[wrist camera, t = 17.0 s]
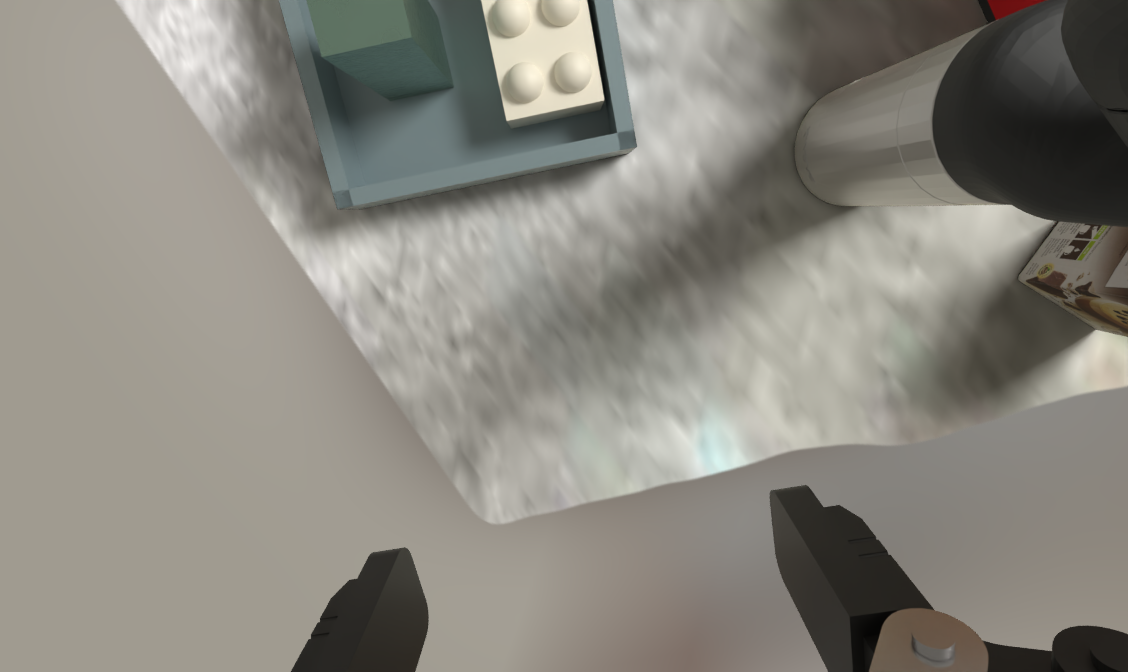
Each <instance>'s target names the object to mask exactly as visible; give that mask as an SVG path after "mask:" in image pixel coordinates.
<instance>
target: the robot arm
mask: <svg viewBox="0 0 1128 672" xmlns="http://www.w3.org/2000/svg"><path fill="white" fill-rule="evenodd" d="M795 162H796V167H797V171H798V173H799V175H800V178H801V180H802V182H803V183H804V184H805V186H806V187H807V188H808V190H809V191H810V192H811V193H813V194H814V195H815V196H816V197H818V198H819V199H821V200H823V201H825V202H827V203H830V204H834V205H838V206H946V205H1013V206H1015V207H1016V208H1018V209H1020V210H1022V211H1024V212H1026V213H1029V214H1031V215H1034V216H1036V217H1040V218H1043V219H1047V220H1053V221H1060V222H1070V223H1082V224H1094V225H1106V226H1117V227H1128V0H1047V1H1043V2H1040V3H1037V4H1035V5H1032V6H1029V7H1026V8H1024V9H1021V10H1019V11H1017V12H1015V13H1012V14H1010V15H1008V16H1005V17H1003V18H1001V19H998V20H996V21H994V22H991V23H989V24H987V25H984V26H982V27H980V28H977V29H975V30H973V31H970V32H968V33H966V34H963V35H961V36H959V37H957V38H955V39H953V40H950V41H948V42H946V43H943V44H941V45H939V46H936V47H934V48H932V49H929V50H927V51H925V52H922V53H920V54H918V55H915V56H913V57H911V58H908V59H906V60H904V61H901V62H899V63H897V64H894V65H892V66H890V67H887V68H885V69H883V70H880V71H878V72H876V73H874V74H871V75H869V76H867V77H864V78H861V79H859V80H857V81H855V82H852V83H850V84H848V85H846V86H843V87H841V88H839V89H836V90H834V91H832V92H830V93H828V94H827V95H825V96H824V97H823V98H821V99H820V100H818V101H817V102H816V104H815V105H814V106H813V107H812V108H811V109H810V110H809V111H808V113H807V114H806V116H805V117H804V119H803V121H802V123H801V125H800V128H799V130H798V133H797V137H796V142H795ZM770 506H771V516H772V526H773V535H774V544H775V554H776V559H777V563H778V567H779V570H780V573H781V576H782V579H783V581H784V583H785V585H786V587H787V589H788V591H789V593H790V595H791V597H792V599H793V601H794V603H795V605H796V607H797V609H798V611H799V613H800V615H801V617H802V620H803V622H804V623H805V626H806V628H807V629H808V632H809V634H810V636H811V638H812V640H813V642H814V644H815V645H816V648H817V650H818V652H819V654H820V656H821V658H822V660H823V662H824V664H825V666H826V668H827V670H828V672H1128V634H1125V633H1123V632H1119V631H1116V630H1112V629H1108V628H1103V627H1097V626H1076V627H1070V628H1067V629H1064V630H1062V631H1061V632H1059V633H1058V634H1057V635H1056V636H1055V638H1054V641H1053V645H1052V651H1045V650H1036V649H1028V648H1020V647H1011V646H1004V645H998V644H993V643H989V642H986V641H983V640H982V639H981V638H980V637H979V635H978V634H976V632H975V631H973V629H971V628H970V627H969V626H967V625H966V624H965V623H963V622H962V621H960V620H958V619H956V618H954V617H952V616H950V615H948V614H945V613H942V612H939V611H935V610H934V609H933V608H932V606H931V605H930V604H929V603H928V601H927V600H926V599H925V598H924V596H923V595H922V594H921V593H920V591H919V590H918V589H917V588H916V586H915V585H914V584H913V582H912V581H911V580H910V579H909V577H908V576H907V575H906V574H905V572H904V571H903V570H902V569H901V567H900V566H899V565H898V564H897V562H896V561H895V560H894V559H893V558H892V556H891V555H888V552H887V550H886V549H885V547H884V546H883V545H882V544H881V542H880V541H879V540H876V536H875V535H874V534H873V532H872V531H871V530H870V529H869V527H868V526H867V525H866V524H865V522H864V521H863V520H862V519H861V518H860V517H858V516H856V515H855V514H853V513H851V512H850V511H848V510H847V509H845V508H843V507H841V506H840V505H836V506H830V507H823V506H822V505H821V503H820V502H819V500H818V499H817V498H816V496H815V495H814V493H813V492H812V491H811V489H810V488H809V487H808V486H807V485H803V486H797V487H790V488H784V489H779V490H771V492H770ZM427 630H428V607H427V603H426V599H425V596H424V593H423V590H422V587H421V584H420V581H419V577H418V574H417V571H416V568H415V565H414V562H413V559H412V556H411V553H410V551H409V550H408V549H407V548H399V549H393V550H386V551H380V552H373V553H371V554H370V556H369V557H368V559H367V561H366V563H365V565H364V567H363V569H362V571H361V573H360V575H359V576H358V579H353V580H349V581H348V582H347V583H346V584H345V585H344V586H343V587H342V588H341V589H340V590H339V591H338V592H337V593H336V594H335V595H334V596H333V597H332V598H331V599H330V601H329V603H328V605H327V607H326V609H325V611H324V612H323V614H322V616H321V618H320V622H319V623H317V625H316V627H315V629H314V631H313V632H312V634H311V639H309V640H308V642H307V643H306V645H305V647H304V649H303V650H302V652H301V654H300V656H299V658H298V660H297V661H296V663H295V665H294V667H293V669H292V671H291V672H415V671H416V667H417V664H418V661H419V658H420V654H421V651H422V648H423V645H424V641H425V638H426V635H427Z"/></svg>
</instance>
